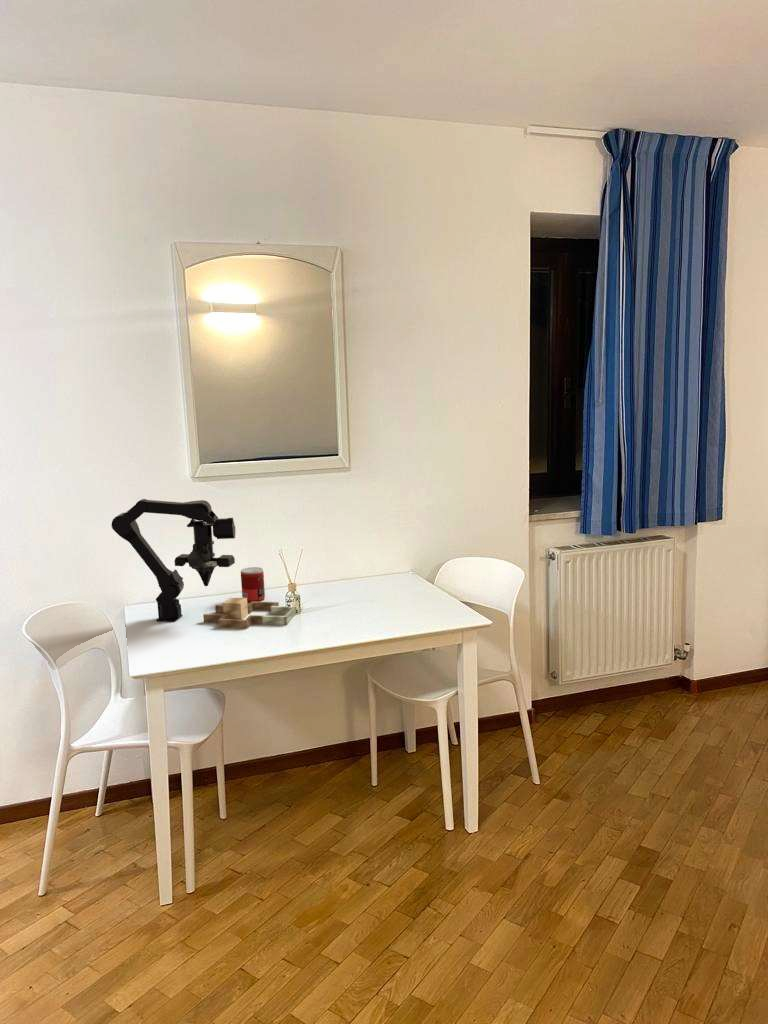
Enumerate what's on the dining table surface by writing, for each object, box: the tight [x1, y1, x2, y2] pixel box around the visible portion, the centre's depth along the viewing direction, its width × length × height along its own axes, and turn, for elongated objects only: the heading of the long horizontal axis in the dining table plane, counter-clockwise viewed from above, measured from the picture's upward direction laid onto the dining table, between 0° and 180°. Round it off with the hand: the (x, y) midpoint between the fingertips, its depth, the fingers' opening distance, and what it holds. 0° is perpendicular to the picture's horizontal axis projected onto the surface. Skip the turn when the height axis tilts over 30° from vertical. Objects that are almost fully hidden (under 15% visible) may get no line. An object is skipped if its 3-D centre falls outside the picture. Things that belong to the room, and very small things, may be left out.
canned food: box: [240, 566, 266, 604], centre depth 268 cm, size 8×8×11 cm
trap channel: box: [203, 601, 298, 629], centre depth 249 cm, size 28×20×2 cm
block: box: [222, 597, 249, 620], centre depth 249 cm, size 6×6×6 cm
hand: (206, 585), depth 250 cm, fingers closed
